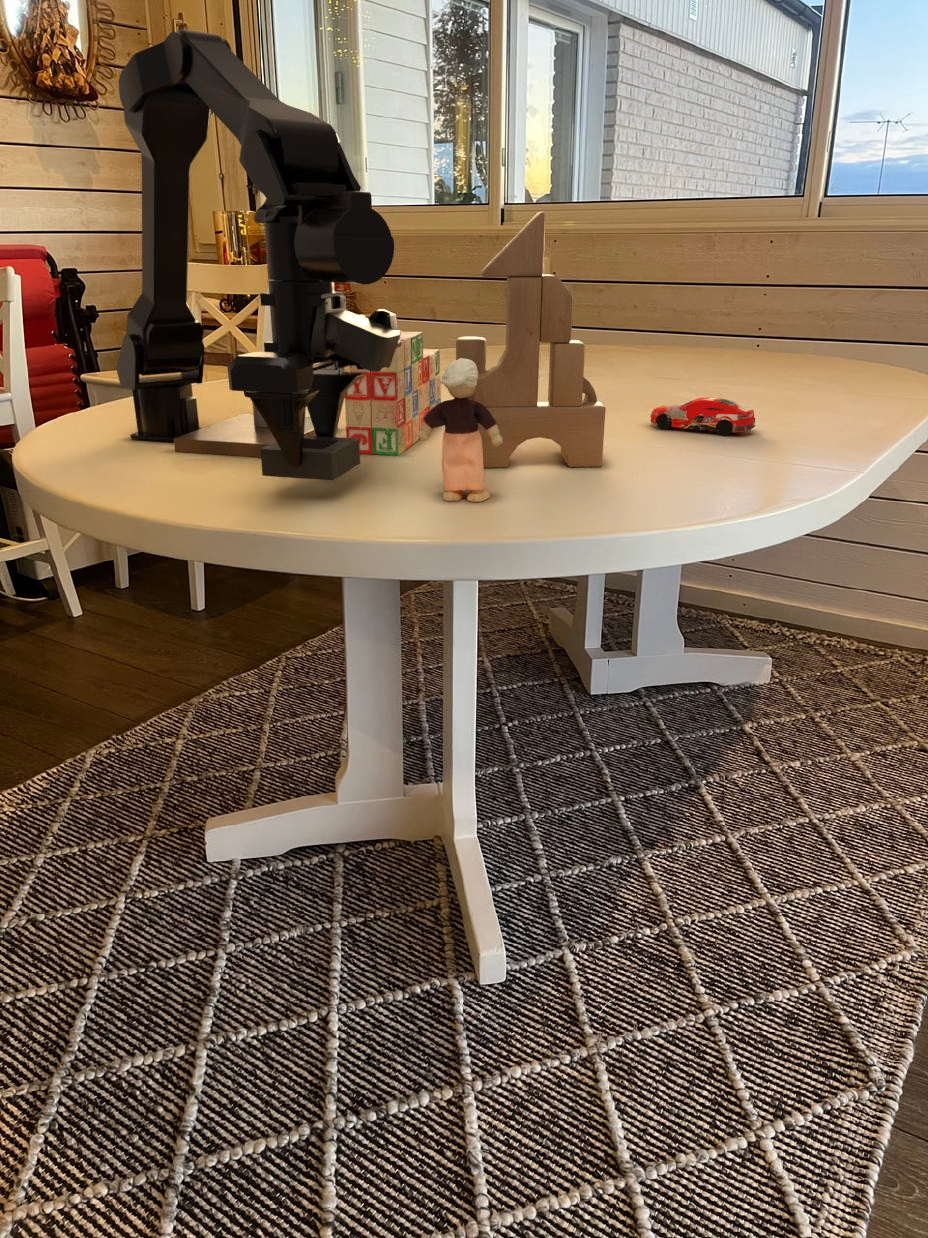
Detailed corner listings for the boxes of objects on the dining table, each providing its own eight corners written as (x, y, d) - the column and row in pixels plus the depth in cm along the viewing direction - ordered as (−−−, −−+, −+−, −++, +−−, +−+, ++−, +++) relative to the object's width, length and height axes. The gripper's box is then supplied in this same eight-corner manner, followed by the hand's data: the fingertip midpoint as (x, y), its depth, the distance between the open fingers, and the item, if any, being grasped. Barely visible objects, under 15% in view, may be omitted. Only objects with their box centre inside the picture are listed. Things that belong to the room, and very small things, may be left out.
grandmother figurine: (499, 492, 88) (502, 355, 83) (502, 502, 84) (504, 361, 79) (419, 492, 88) (417, 355, 83) (418, 503, 84) (416, 360, 79)
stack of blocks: (396, 419, 123) (394, 323, 118) (441, 421, 122) (441, 324, 117) (346, 453, 104) (341, 340, 99) (399, 455, 102) (397, 341, 98)
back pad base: (174, 451, 104) (169, 402, 102) (245, 424, 119) (241, 381, 117) (279, 458, 101) (275, 408, 99) (338, 430, 116) (336, 385, 114)
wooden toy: (590, 453, 104) (604, 213, 94) (602, 467, 98) (618, 211, 88) (455, 454, 103) (455, 212, 94) (458, 468, 97) (458, 210, 87)
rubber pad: (262, 475, 84) (259, 448, 83) (294, 459, 91) (292, 434, 90) (332, 480, 83) (331, 453, 82) (360, 464, 89) (359, 438, 88)
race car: (643, 428, 118) (646, 396, 117) (657, 421, 123) (660, 391, 121) (746, 438, 112) (750, 405, 111) (757, 431, 117) (761, 399, 115)
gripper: (347, 286, 70) (355, 486, 76) (420, 277, 87) (422, 442, 93) (216, 284, 73) (234, 477, 79) (312, 276, 89) (320, 436, 95)
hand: (311, 456), depth 86 cm, fingers closed on rubber pad, 7 cm apart
